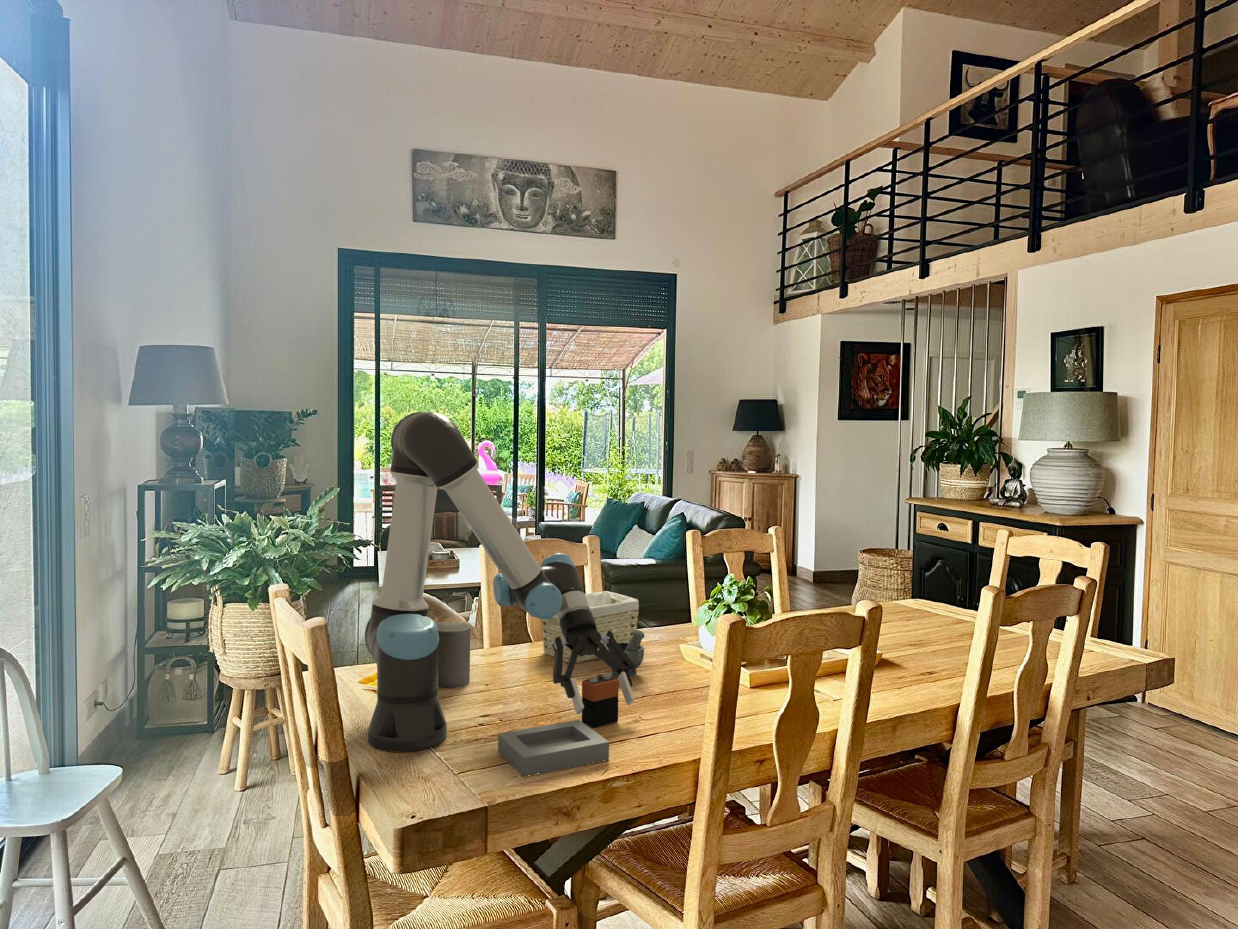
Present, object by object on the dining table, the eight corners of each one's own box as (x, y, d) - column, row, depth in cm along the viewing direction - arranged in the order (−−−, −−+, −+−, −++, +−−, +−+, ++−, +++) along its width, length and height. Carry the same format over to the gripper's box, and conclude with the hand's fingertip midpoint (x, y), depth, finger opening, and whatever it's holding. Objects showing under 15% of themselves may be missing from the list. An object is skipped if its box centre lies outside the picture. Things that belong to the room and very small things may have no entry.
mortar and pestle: (597, 673, 213) (597, 626, 212) (624, 666, 219) (624, 620, 219) (628, 684, 205) (628, 634, 204) (655, 676, 211) (656, 628, 211)
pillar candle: (421, 686, 201) (421, 623, 200) (441, 674, 210) (442, 614, 210) (458, 691, 198) (459, 627, 197) (477, 679, 208) (478, 618, 207)
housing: (523, 777, 151) (523, 757, 150) (498, 751, 162) (498, 733, 162) (608, 760, 159) (609, 742, 158) (578, 737, 170) (579, 719, 170)
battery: (619, 722, 179) (619, 675, 178) (592, 729, 175) (593, 681, 174) (606, 716, 182) (607, 670, 182) (580, 723, 178) (581, 675, 178)
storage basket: (567, 667, 219) (568, 610, 218) (535, 652, 232) (535, 599, 231) (641, 653, 233) (642, 599, 232) (606, 640, 246) (607, 589, 245)
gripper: (616, 620, 197) (648, 707, 184) (520, 631, 186) (548, 724, 173) (627, 602, 192) (661, 689, 179) (530, 612, 181) (559, 706, 168)
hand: (606, 706), depth 176 cm, fingers open, 11 cm apart
